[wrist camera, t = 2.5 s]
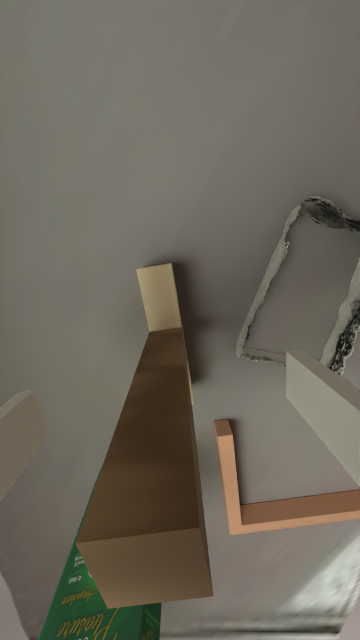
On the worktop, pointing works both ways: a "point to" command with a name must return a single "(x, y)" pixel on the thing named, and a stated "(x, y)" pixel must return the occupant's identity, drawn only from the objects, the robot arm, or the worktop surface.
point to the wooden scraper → (151, 474)
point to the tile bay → (279, 511)
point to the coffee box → (94, 609)
